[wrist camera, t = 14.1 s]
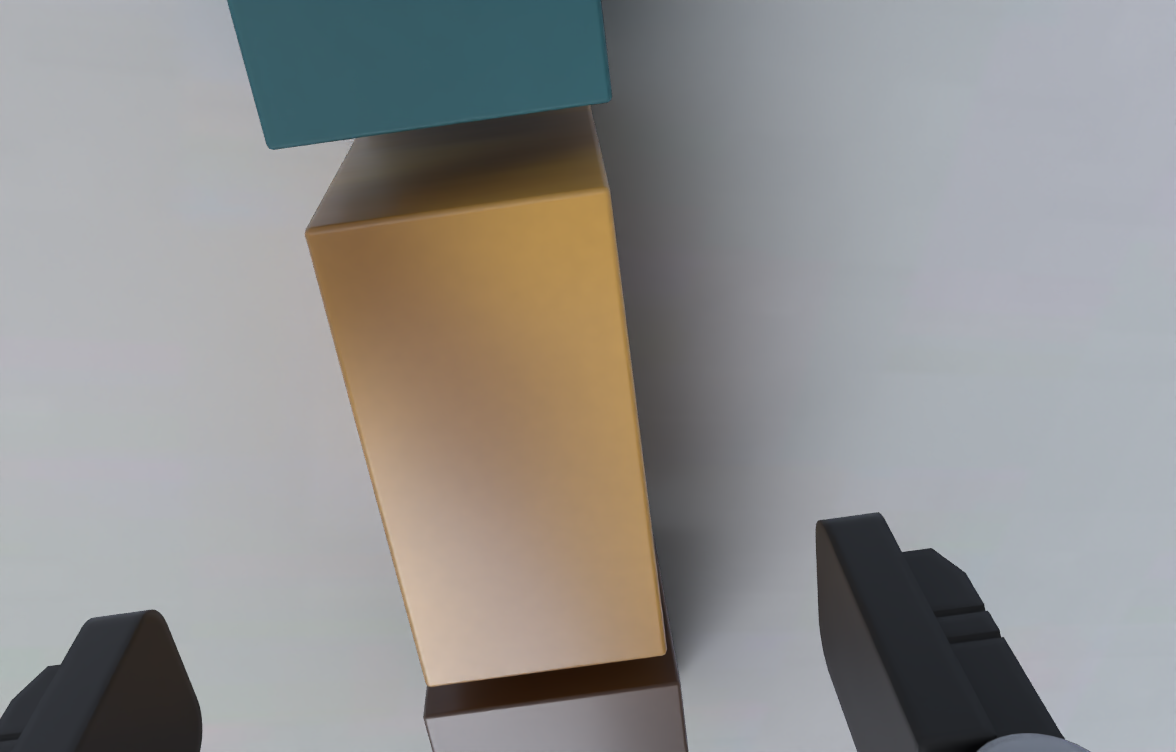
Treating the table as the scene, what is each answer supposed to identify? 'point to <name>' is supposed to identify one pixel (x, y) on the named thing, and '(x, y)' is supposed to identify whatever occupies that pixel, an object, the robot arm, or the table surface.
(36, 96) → the table surface
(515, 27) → the teal block
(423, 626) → the honey block
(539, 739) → the walnut block
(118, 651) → the robot arm
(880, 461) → the table surface
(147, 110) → the table surface
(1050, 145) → the table surface
